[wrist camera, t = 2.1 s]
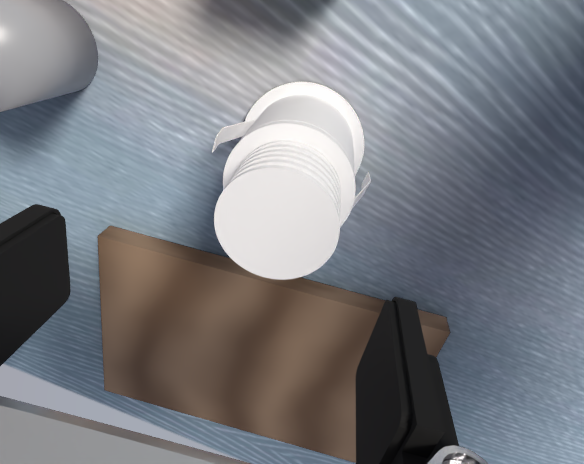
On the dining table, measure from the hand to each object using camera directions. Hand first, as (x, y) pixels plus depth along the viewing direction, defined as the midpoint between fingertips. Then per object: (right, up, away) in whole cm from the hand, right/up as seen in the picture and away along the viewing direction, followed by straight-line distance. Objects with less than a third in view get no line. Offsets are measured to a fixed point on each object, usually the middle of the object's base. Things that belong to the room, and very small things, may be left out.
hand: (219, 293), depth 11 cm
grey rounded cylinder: (-11, +12, +11) cm, 20 cm away
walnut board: (-1, -8, +20) cm, 21 cm away
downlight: (+3, +7, +12) cm, 14 cm away
